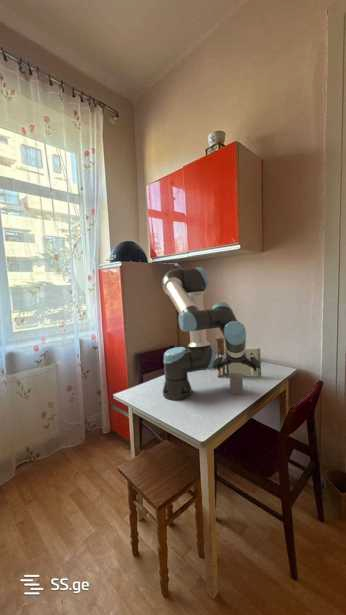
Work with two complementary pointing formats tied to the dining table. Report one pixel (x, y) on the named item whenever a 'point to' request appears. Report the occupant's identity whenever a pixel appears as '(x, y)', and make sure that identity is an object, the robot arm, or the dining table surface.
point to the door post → (221, 350)
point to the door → (244, 368)
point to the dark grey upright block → (236, 384)
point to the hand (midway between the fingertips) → (236, 372)
